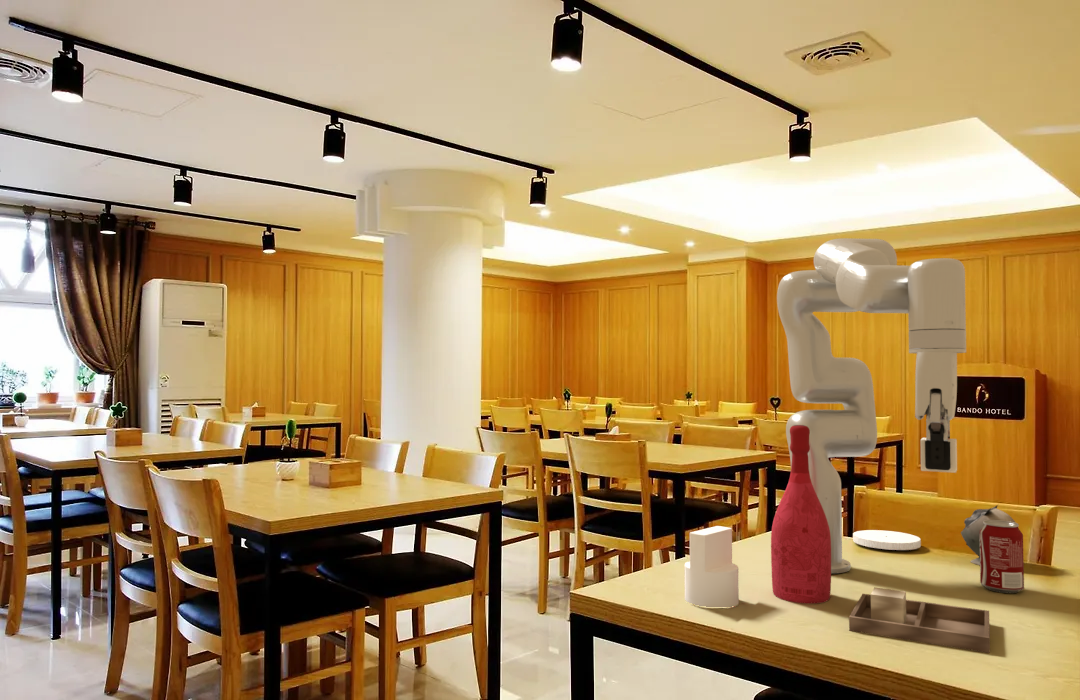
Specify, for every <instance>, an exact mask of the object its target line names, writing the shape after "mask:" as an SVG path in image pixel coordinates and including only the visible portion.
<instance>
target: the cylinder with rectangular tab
mask: <svg viewBox="0 0 1080 700" xmlns="http://www.w3.org/2000/svg"><path fill="white" fill-rule="evenodd" d="M739 588H740V587H739V566H738V565H737V564H735V563H733V528H732V527H727V526H721V525H715V526H712V527H707V528H703V529H699V530H695V531H690V532H689V561H686V562H685V563H684V601H685V600H686V601H687V602H689V603H692V604H695V605H699V606H706V607H732V606H735V605H737V604H738V605H739V603H740V601H739V600H740V599H739V595H740V594H739ZM686 601H685V602H686ZM687 602H686V603H687ZM738 605H737V606H738ZM735 607H736V606H735ZM732 608H733V607H732Z"/></svg>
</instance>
